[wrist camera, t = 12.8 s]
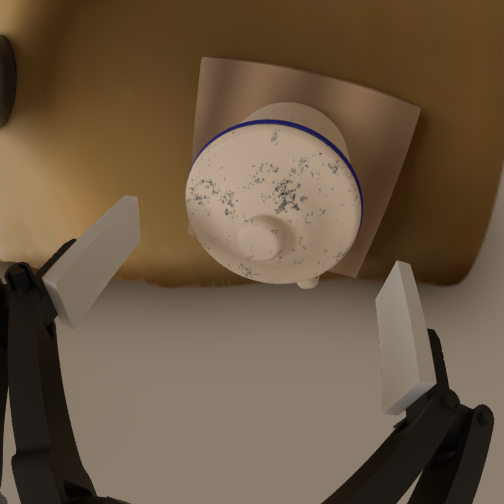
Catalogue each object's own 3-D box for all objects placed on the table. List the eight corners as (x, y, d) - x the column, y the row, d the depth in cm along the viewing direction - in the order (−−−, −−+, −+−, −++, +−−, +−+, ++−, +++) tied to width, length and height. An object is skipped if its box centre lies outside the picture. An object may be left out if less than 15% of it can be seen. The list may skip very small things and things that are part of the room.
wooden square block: (203, 214, 31) (188, 234, 28) (219, 56, 22) (201, 56, 18) (353, 252, 30) (355, 278, 27) (407, 100, 20) (421, 108, 17)
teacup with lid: (212, 120, 21) (125, 178, 12) (331, 83, 18) (340, 106, 9) (265, 249, 27) (230, 357, 18) (368, 230, 24) (383, 345, 15)
